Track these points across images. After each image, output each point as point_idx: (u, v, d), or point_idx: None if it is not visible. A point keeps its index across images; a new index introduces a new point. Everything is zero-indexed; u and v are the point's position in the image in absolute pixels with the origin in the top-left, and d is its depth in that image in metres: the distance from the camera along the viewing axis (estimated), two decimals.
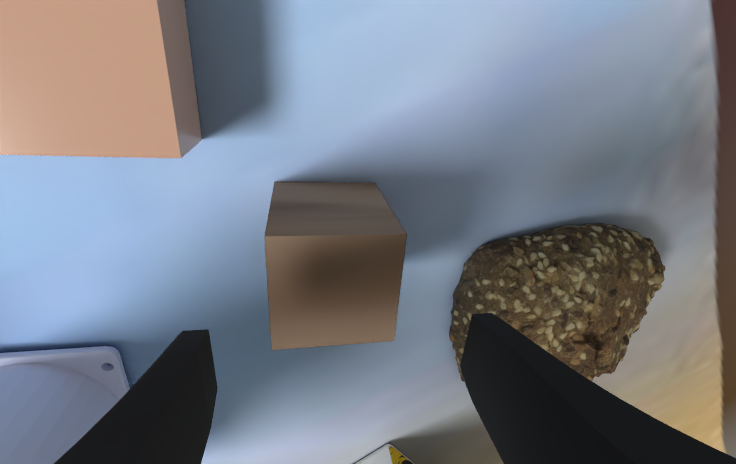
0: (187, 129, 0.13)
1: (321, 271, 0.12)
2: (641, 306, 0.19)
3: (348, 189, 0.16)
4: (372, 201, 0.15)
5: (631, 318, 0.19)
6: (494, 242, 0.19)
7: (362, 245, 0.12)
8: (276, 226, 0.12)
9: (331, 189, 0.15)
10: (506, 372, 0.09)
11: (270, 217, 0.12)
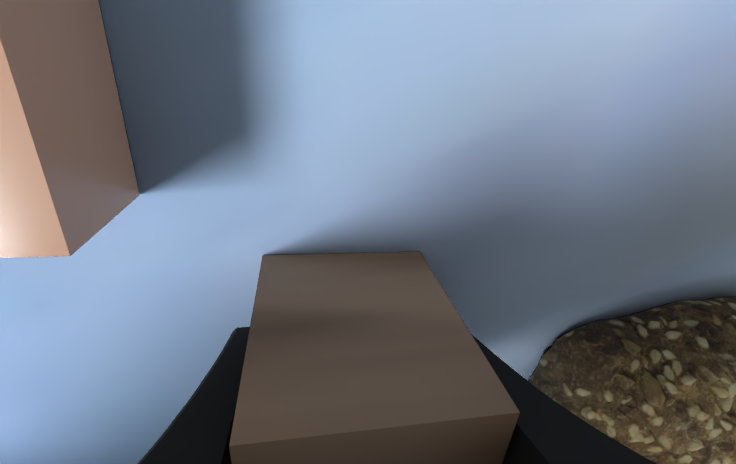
0: (94, 191, 0.07)
1: None
2: None
3: (381, 269, 0.10)
4: (427, 301, 0.09)
5: None
6: (589, 328, 0.13)
7: (430, 439, 0.06)
8: (258, 400, 0.06)
9: (354, 272, 0.10)
10: None
11: (247, 366, 0.06)
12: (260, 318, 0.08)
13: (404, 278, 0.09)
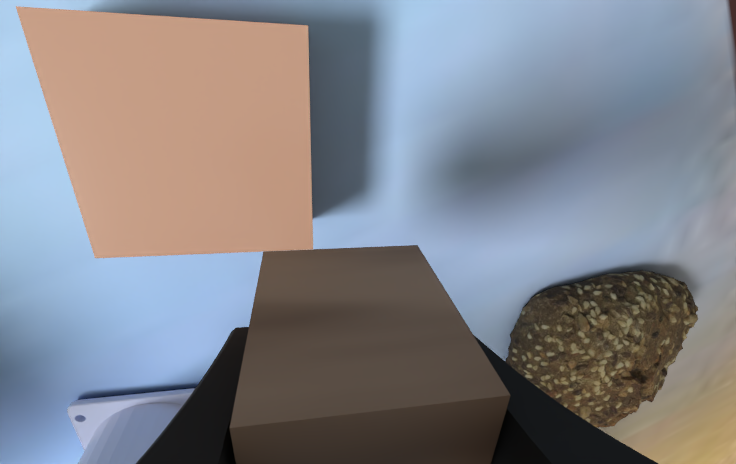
0: None
1: None
2: (678, 343, 0.22)
3: (378, 262, 0.10)
4: (423, 292, 0.09)
5: (669, 354, 0.22)
6: (549, 290, 0.22)
7: (424, 422, 0.06)
8: (257, 387, 0.06)
9: (353, 265, 0.10)
10: None
11: (248, 355, 0.07)
12: (260, 310, 0.08)
13: (401, 271, 0.10)
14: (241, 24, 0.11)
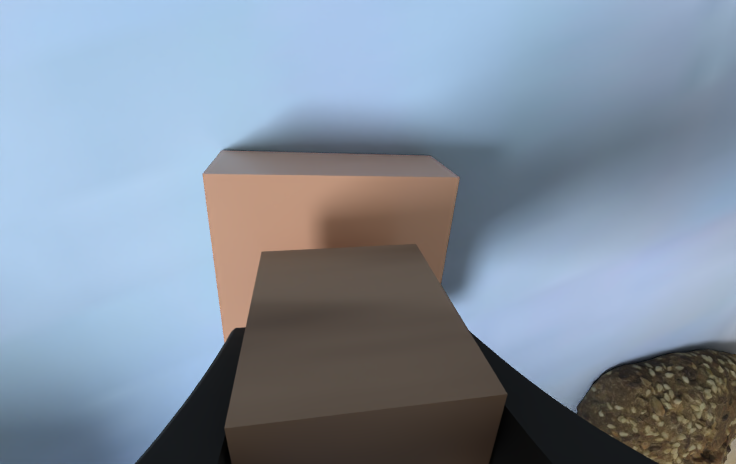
0: None
1: None
2: None
3: (376, 262, 0.10)
4: (421, 291, 0.09)
5: (735, 432, 0.23)
6: (621, 370, 0.22)
7: (420, 421, 0.06)
8: (253, 386, 0.06)
9: (351, 265, 0.10)
10: None
11: (244, 355, 0.07)
12: (257, 310, 0.08)
13: (399, 270, 0.10)
14: (400, 178, 0.12)
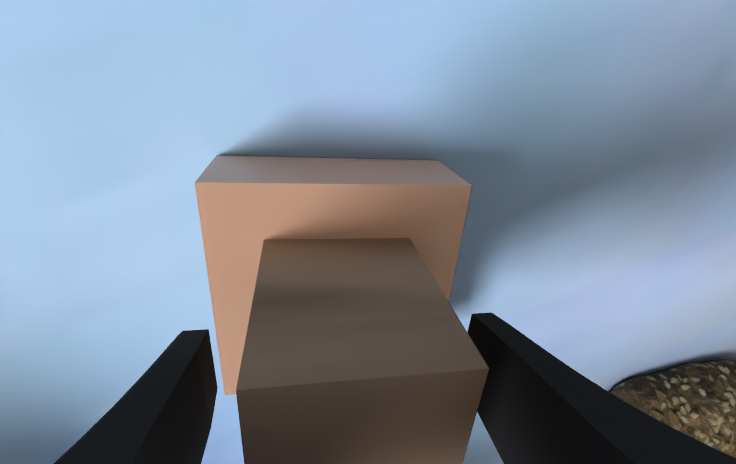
0: None
1: (338, 432, 0.07)
2: None
3: (372, 252, 0.11)
4: (414, 279, 0.09)
5: None
6: (634, 381, 0.22)
7: (410, 391, 0.07)
8: (260, 356, 0.07)
9: (348, 254, 0.10)
10: (506, 372, 0.09)
11: (251, 330, 0.07)
12: (262, 292, 0.08)
13: (393, 260, 0.10)
14: (408, 187, 0.11)
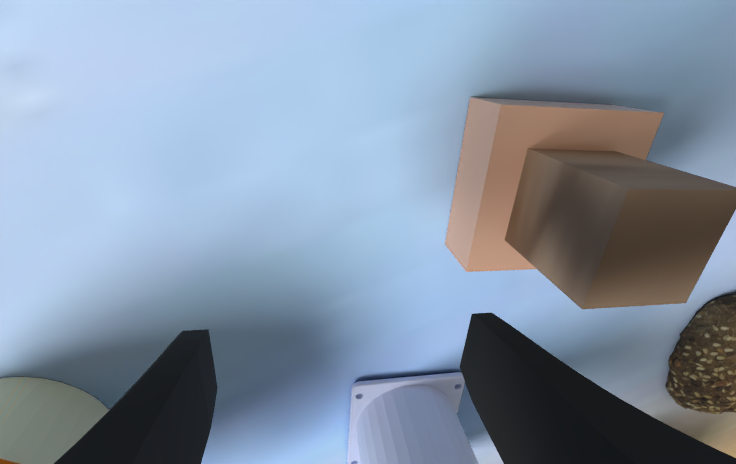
0: None
1: (658, 227, 0.12)
2: None
3: (605, 155, 0.16)
4: (650, 165, 0.15)
5: None
6: (723, 299, 0.27)
7: (703, 201, 0.12)
8: (619, 181, 0.12)
9: (592, 155, 0.16)
10: (506, 372, 0.09)
11: (596, 174, 0.12)
12: (573, 164, 0.14)
13: (624, 158, 0.15)
14: (624, 112, 0.16)
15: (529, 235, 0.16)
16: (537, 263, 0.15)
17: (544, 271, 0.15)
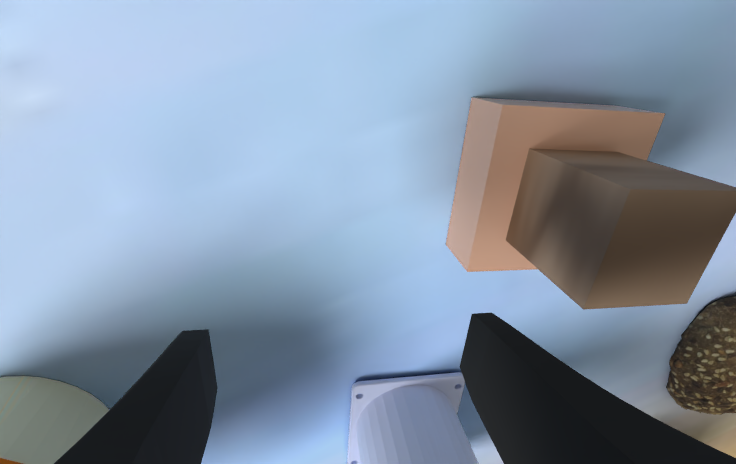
0: None
1: (660, 228, 0.12)
2: None
3: (606, 155, 0.16)
4: (652, 165, 0.15)
5: None
6: (725, 300, 0.27)
7: (704, 202, 0.12)
8: (621, 182, 0.12)
9: (593, 155, 0.16)
10: (506, 372, 0.09)
11: (598, 175, 0.12)
12: (574, 165, 0.14)
13: (625, 158, 0.15)
14: (625, 113, 0.16)
15: (530, 235, 0.16)
16: (538, 263, 0.15)
17: (545, 271, 0.15)
